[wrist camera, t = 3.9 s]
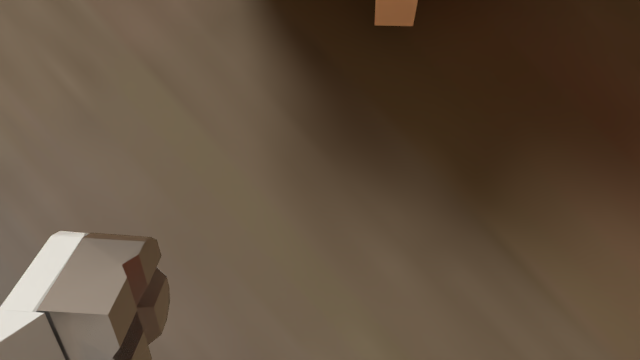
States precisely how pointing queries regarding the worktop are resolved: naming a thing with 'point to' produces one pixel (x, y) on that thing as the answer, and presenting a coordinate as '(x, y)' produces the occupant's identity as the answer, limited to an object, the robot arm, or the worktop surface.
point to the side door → (395, 12)
